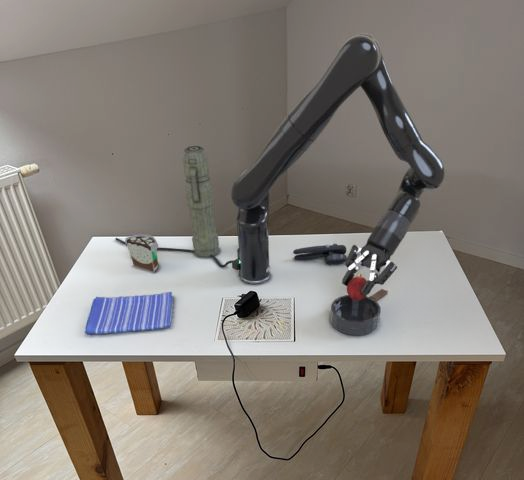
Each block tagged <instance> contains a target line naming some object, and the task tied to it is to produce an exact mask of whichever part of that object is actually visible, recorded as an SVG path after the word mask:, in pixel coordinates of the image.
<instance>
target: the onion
mask: <svg viewBox="0 0 524 480" xmlns="http://www.w3.org/2000/svg"><path fill="white" fill-rule="evenodd" d="M367 280H368V279H366V278H365V277H363V274H361V273H358V274H357V275H356V276H354V277H353V278H352V279H351V280H350V281H349V283H348V285H347V286H346V293H347V295H349V297H350V298H352V299H353V300H355V301H359V300H362V299H363V298H365V297H366V296H367V297H368V295H366V296H364V295H362V294H361V293H360V292H361V290H362V288H363V287H364V285H365V283H366V282H367Z"/></svg>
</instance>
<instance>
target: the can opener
mask: <svg viewBox="0 0 524 480" xmlns="http://www.w3.org/2000/svg"><path fill="white" fill-rule="evenodd" d="M292 253H293V255H294V256H293V259H294V260H295V261H309V260H315V259H324V260H325V263H326V264H328V265H333V266H334V265H341V264H345V261H346V259H347V257H348V255H346V253H347V246H345V244H337V243H333V244H325V245H314V246H313V245H312V246H306V247H300V248H296V249H294V250H293V251H292Z"/></svg>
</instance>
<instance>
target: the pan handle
mask: <svg viewBox="0 0 524 480" xmlns="http://www.w3.org/2000/svg"><path fill="white" fill-rule="evenodd" d="M388 293H389V291H388V290H386V289H384V288H381V289H380V290H378V291H376V292H374V293H373V294H371V295H370V296H368V297H369V298H372V299H374V300H375V301H376V302H377V303H378V302H379V301H381V300H382V299H383V298H385V297H386V296H387V295H388Z"/></svg>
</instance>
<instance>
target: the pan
mask: <svg viewBox="0 0 524 480" xmlns="http://www.w3.org/2000/svg"><path fill="white" fill-rule="evenodd" d="M369 297H370V296H368V295H367V296H366V297H365V298H363V299H362V300H359V301H355V300H353V299H352V298H350V297H349V295H348V294H345V295H342V296H338V297H337V298H335V299H334V300H333V301H332V302H331V305H330V317H329V322H330V324H331V326H332V327H333V328H334V329H335V330H336V331H338V332H339V333H342V334H345V335H348V336H349V335H350V336H364V335H368V334H370V333H371V334H372V332H374V331H376V330H377V329H378V327H379V325H380V320H381V314H382V313H381V312H382V310H381V305H380V304H379V302H378V301H377V302H376V301H375V300H374V299H372V298H369Z"/></svg>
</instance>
